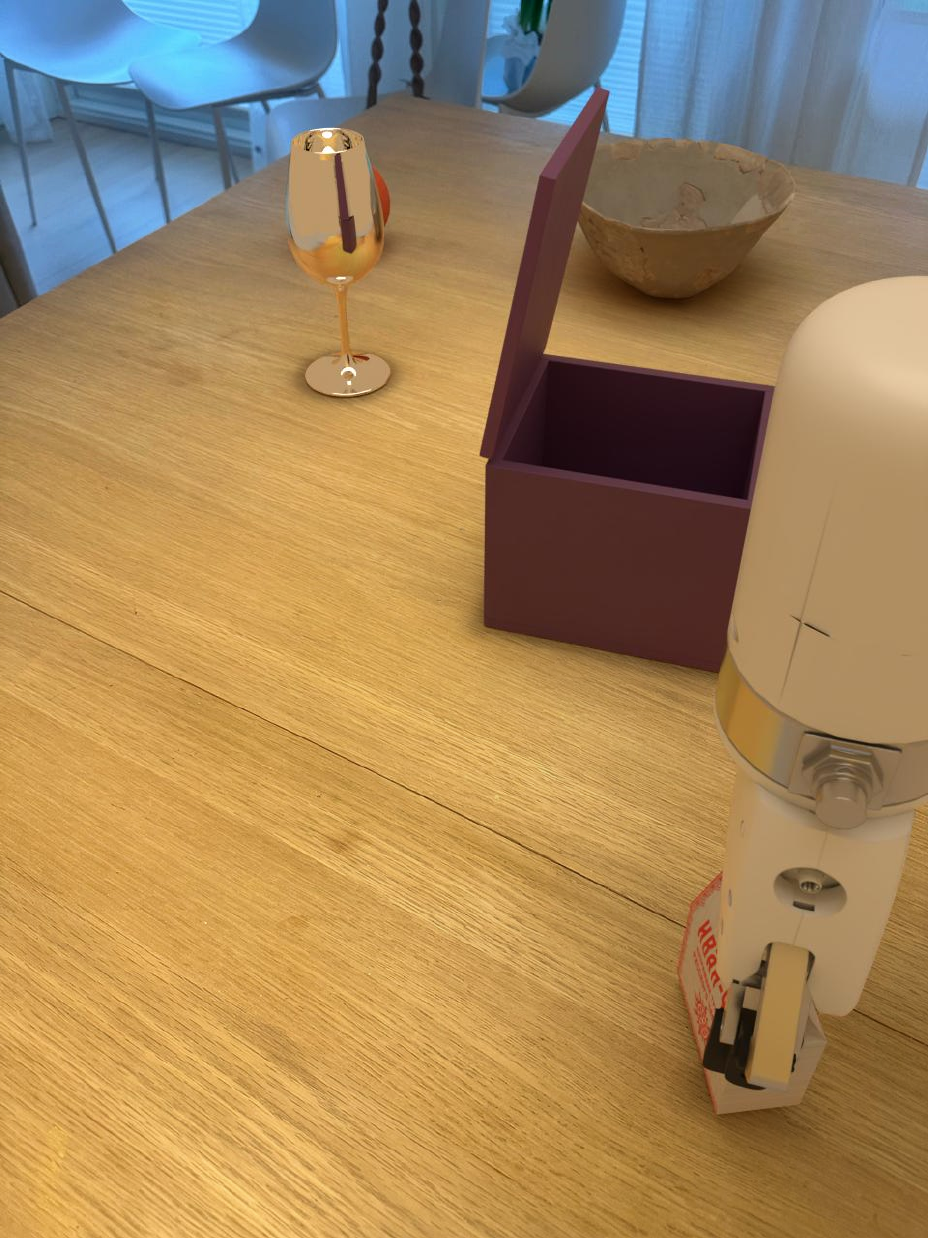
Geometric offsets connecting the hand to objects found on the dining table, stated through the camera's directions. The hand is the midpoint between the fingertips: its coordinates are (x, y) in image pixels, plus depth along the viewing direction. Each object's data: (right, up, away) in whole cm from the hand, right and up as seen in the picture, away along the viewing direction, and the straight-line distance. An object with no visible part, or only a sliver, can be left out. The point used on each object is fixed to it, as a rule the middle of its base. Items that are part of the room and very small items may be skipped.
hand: (753, 975), depth 44 cm
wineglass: (-22, +36, +49) cm, 65 cm away
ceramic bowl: (+8, +50, +63) cm, 80 cm away
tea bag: (0, -4, +4) cm, 6 cm away
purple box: (-1, +18, +28) cm, 33 cm away
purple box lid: (-7, +34, +15) cm, 38 cm away
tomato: (-25, +55, +68) cm, 91 cm away
